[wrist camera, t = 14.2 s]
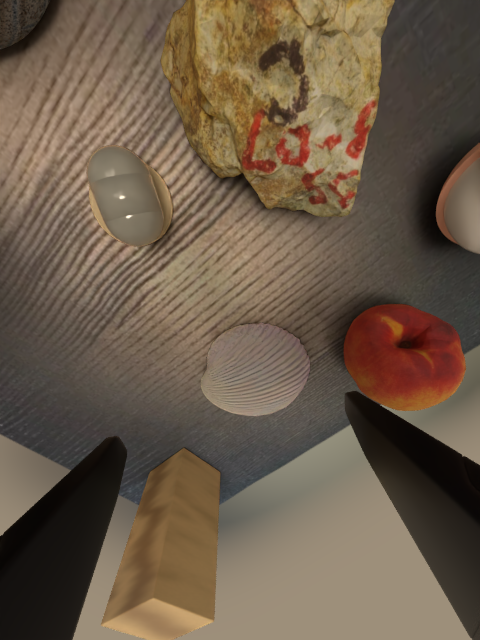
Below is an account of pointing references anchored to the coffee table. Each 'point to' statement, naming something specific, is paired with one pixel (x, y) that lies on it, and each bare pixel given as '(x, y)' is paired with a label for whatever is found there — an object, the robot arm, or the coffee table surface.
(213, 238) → the coffee table surface
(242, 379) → the seashell
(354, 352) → the fruit
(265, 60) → the rock
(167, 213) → the coaster
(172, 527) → the stand
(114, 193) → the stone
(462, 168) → the toy ball
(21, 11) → the vase
